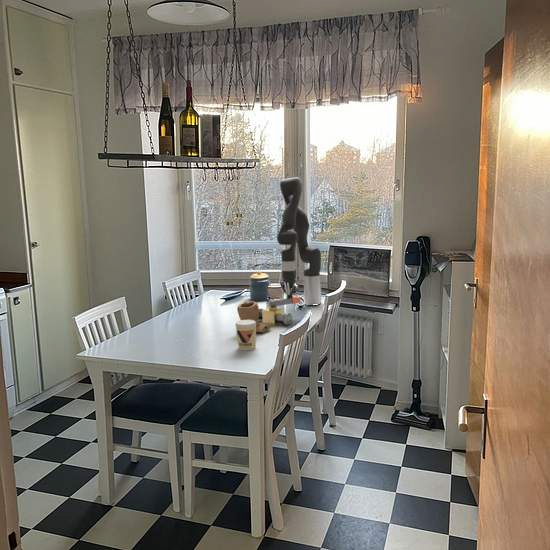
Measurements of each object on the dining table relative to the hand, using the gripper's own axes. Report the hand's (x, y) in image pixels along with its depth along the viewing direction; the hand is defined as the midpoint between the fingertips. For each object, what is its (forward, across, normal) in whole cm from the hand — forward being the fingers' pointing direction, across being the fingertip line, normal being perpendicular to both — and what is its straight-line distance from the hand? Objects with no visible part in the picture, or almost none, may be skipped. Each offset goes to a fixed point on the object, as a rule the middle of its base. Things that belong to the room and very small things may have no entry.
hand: (289, 301), depth 306 cm
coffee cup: (+9, +24, -47) cm, 54 cm away
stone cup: (+9, +6, -30) cm, 32 cm away
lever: (0, +2, -6) cm, 6 cm away
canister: (+9, -47, +17) cm, 51 cm away
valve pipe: (+9, +1, -12) cm, 15 cm away
